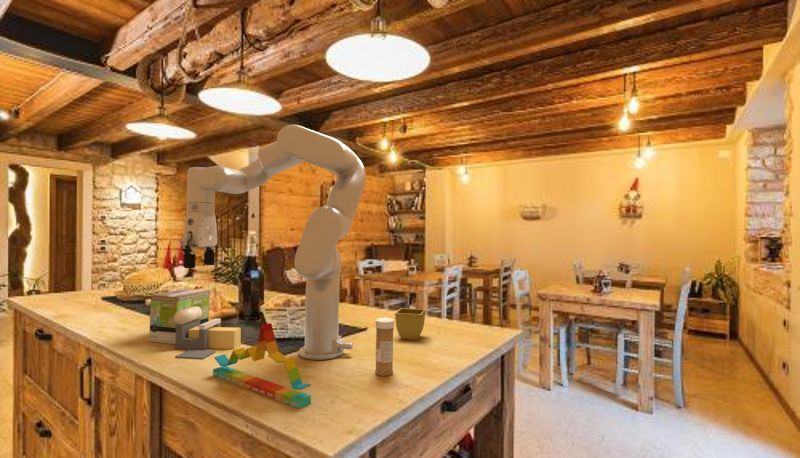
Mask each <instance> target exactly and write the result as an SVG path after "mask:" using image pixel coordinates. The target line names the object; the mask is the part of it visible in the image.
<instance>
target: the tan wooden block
mask: <svg viewBox="0 0 800 458" xmlns="http://www.w3.org/2000/svg"><path fill="white" fill-rule="evenodd" d="M241 332H242V329H241V327H230V326H229V327H222V326H221V327H213V326H211V327H209V328H208V330H207V339H208V349H217V350H218V349H221V350H235V349H238V348H239V347H241V337H242V333H241ZM188 338H199V327H198V326H196V327H194V328H191V329H189V335H188Z"/></svg>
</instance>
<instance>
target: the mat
mask: <svg viewBox="0 0 800 458" xmlns="http://www.w3.org/2000/svg"><path fill="white" fill-rule="evenodd" d="M215 353H216V350H185V351H183V352H181V353H180V354H177V355H175V359H189V360H190V359H191V360H192V359H194V360H196V359H197V360H204V359H206V358H208V357H210V356H212V355H214V354H215Z"/></svg>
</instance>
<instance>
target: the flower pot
mask: <svg viewBox="0 0 800 458" xmlns="http://www.w3.org/2000/svg"><path fill="white" fill-rule="evenodd" d="M426 312H427V311H426V309H423V308H407V307H401V308H399V309H398V310H396V312H394V316H395V326H396V330H397V333H398V335H399V337H400V338H401V340H413V341H417V340H418V339H419V338H420V336H421V334H422V332H423V330H424V326H425V319H426Z"/></svg>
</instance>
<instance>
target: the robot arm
mask: <svg viewBox="0 0 800 458" xmlns="http://www.w3.org/2000/svg"><path fill="white" fill-rule="evenodd" d="M303 163H308V164H311V165H314V166H316V167H319V168H321V169H324V170H325V171H327V172H330V173H332V174H334V175H335V177H336V180H335V182H334V184H333V186H332V188H331V190H330V193H329V197H328V199H327V202H326V205H322V206H320V207H317V208H316V209H314V211H313V212H311V214H310V215H309V217H308V218H307V221H306V223H305V226H304V229H303V232H302V235H301V237H300V241H299V243H298V246H297V249H296V252H295V255H294V269H295V270H296V272H297V273H298V276H300V277H301V278H303V279H305V280H306V282H305V283H306V284H305V296H304V297H305V299H304V300H305V304H304V308H305V309H304V311H305V312H304V346H302V347H300V348H299V350H298V355H299V357H300V358H303V359H306V360H312V361H313V360H314V361H316V360H317V361H321V360H324V361H325V360H330V359H335V358H338V357H340V356H342V355H344V352H345V351H344V350H353V348H354V343H353V342H351V340H343V339H342V335H339V331H340V330H339V328H340V327H339V326H340V325H339V324H340V323H339V322H340V321H339V318H340V317H339V316H340V315H339V314H340V286H341V285H340V282H341V274H342V264H343V263H342V256H341V253H340V250H338V248H337V243H338V241H340V240H343V239H345V238H346V237H347V235H348V234H349V233H350V230H351V227H352V224H353V222H354V218H355V216H356V212H357V210H358V208H359V204H360V200H361V197H362V195H363V192H364V188H365V184H366V174H367V173H366V169H365V166H364V164H363V162H362V160H361V159H360V158H359V157H358V155H357V154H356V153H355V152H354V151H353V150H352V149H350V147H348V146H347V145H345V144H344V143H343V142H341V141H340V140H339V139H336V138H334V137H331V136H328V135H326V134H323V133H320V132H318V131H315V130H311V129H309V128H308V127H307V128H306V127H304V126H302V125H299V124H288V125H286V126H284V127H283V128H281V129H280V130H279V132H278V133H277V137H276V140H275V141H273V142H271V143H269V144H265V145H264V146H262V147H260V148H259V149H258V151H257V159H256V160H255V161H253V163H250V164H248V165H247V166H244V167H242V168H238V169H235V168H231V167H227V166H223V165H212V166H206V167H204V166H202V167H201V166H192V167H189V168H188V170H187V173H186V216H185V221H184V222H185V223H184V233H183V236H182V237H180V238H179V242H180V248H181V250H182V254H183V268H184V269H196V265H197V264H196V261H197V260H196V257H197V256H196V255H197V254H196V253H195V252H196V250H197V248H198V247H199V248H204V252H203V265H204V266H215V265H216V264H215V263H216V258H215V257H216V251H217V246H218V241H219V238H218V227H217V226H218V225H217V218H216V214H215V213H216V212H215V210H216V208H215V206H216V192H219V193H227V194H233V195H239V194H244V193H246V192H249V191H252V190H254V189H256V188H258V187H259V188H260V187H261V186H262V185H265V183H267V182H268V181H270V180H271V179H272V178H273V177H274V176H275V175H277V174H279V173H282V172H283V171H286V170H289V169H291V168H294V167H296V166H298V165H300V164H303Z"/></svg>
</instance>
